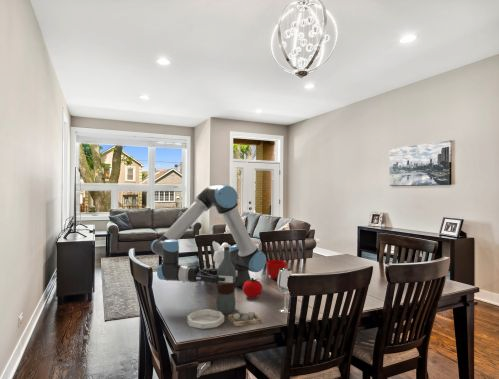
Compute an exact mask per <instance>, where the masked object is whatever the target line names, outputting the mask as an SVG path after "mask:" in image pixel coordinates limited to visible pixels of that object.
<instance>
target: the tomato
mask: <svg viewBox="0 0 499 379" xmlns="http://www.w3.org/2000/svg"><path fill="white" fill-rule="evenodd" d="M250 278H251V280H250V279H248V281H246V282H245V283H244V285H243V287H242V292H243V293H244V295H245V296H246V297H248V298H252V299H253V298H257V297H260V295H261V294H262V292H263V285H262V283H261V281H259V280H258V278H256V279H254V277H250Z"/></svg>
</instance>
